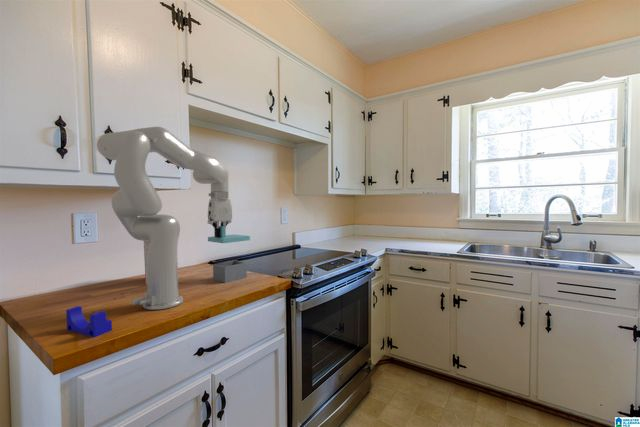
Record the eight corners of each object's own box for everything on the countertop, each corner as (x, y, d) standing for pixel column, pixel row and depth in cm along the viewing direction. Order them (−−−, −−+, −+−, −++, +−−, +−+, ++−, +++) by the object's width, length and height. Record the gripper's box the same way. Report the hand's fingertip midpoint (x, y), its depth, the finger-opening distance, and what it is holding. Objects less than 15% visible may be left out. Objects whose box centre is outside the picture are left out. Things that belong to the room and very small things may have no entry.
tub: (225, 282, 129) (225, 267, 129) (213, 279, 134) (213, 264, 134) (246, 277, 139) (246, 262, 139) (234, 274, 144) (234, 260, 144)
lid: (223, 243, 126) (223, 227, 126) (207, 241, 133) (207, 226, 133) (249, 240, 138) (249, 225, 138) (234, 238, 145) (234, 224, 145)
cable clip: (111, 330, 82) (111, 309, 82) (94, 337, 78) (93, 315, 78) (84, 324, 86) (84, 304, 86) (66, 330, 82) (66, 309, 82)
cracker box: (147, 277, 138) (146, 233, 137) (162, 276, 140) (161, 233, 139) (144, 285, 125) (142, 237, 124) (160, 283, 128) (158, 236, 127)
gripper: (208, 195, 122) (209, 239, 123) (239, 196, 135) (239, 236, 135) (198, 195, 127) (199, 237, 127) (229, 196, 139) (229, 234, 140)
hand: (219, 236), depth 131 cm, fingers closed on lid, 1 cm apart
